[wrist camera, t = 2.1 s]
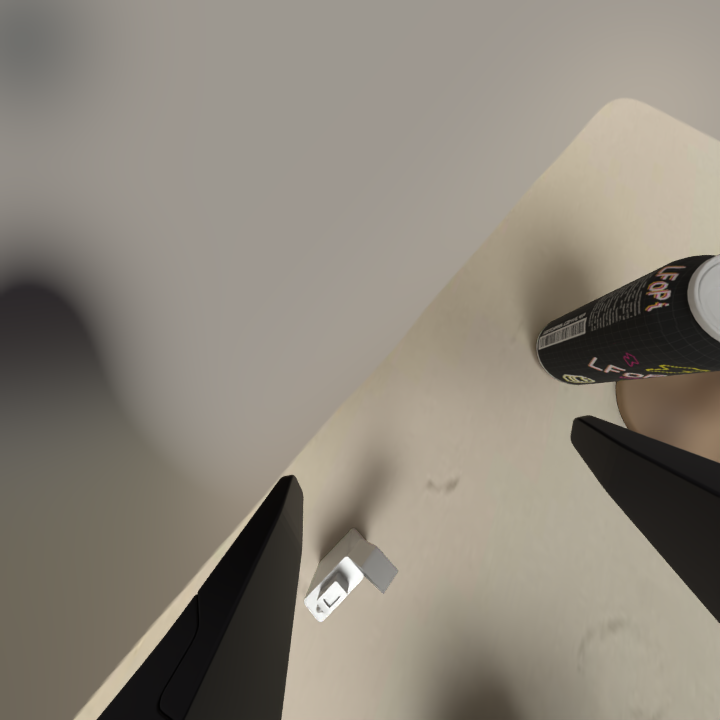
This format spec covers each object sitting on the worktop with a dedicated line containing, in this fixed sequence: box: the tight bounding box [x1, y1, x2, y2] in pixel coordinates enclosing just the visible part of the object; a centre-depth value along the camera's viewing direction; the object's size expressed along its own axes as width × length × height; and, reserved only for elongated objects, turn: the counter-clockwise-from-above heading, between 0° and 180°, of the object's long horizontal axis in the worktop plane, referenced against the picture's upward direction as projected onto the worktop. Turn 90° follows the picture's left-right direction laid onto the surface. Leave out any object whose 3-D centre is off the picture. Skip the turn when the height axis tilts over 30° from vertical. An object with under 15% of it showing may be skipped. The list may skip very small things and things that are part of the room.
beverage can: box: [536, 254, 720, 385], centre depth 17 cm, size 6×6×12 cm
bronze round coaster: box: [616, 371, 720, 463], centre depth 21 cm, size 11×11×1 cm
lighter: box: [304, 528, 398, 622], centre depth 18 cm, size 7×2×8 cm, turn 135°
